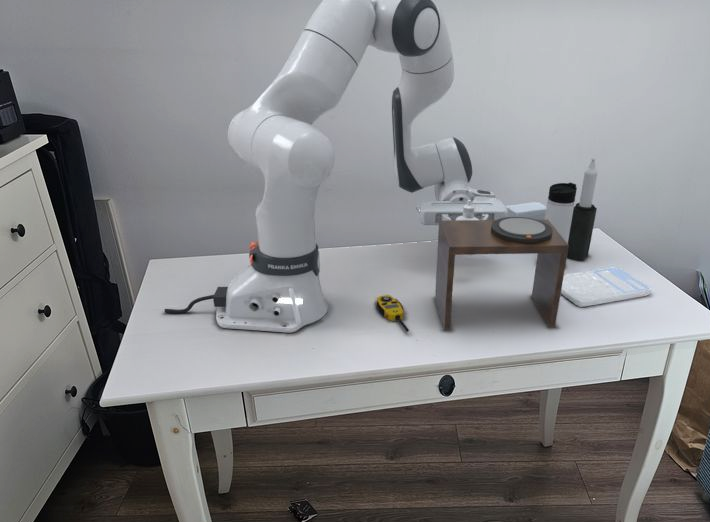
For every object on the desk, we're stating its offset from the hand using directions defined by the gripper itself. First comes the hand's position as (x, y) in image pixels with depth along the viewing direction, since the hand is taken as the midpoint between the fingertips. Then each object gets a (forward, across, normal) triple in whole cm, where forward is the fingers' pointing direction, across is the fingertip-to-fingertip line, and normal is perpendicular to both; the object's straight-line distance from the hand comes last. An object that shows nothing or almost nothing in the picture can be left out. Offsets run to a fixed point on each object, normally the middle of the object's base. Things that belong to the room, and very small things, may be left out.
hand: (468, 225), depth 136 cm
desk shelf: (+15, +4, +14) cm, 21 cm away
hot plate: (+15, +8, -4) cm, 17 cm away
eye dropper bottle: (-1, 0, +7) cm, 7 cm away
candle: (-14, +32, +14) cm, 37 cm away
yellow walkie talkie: (+16, -17, +14) cm, 27 cm away
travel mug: (-9, +24, +14) cm, 29 cm away
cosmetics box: (-22, +20, +14) cm, 33 cm away
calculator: (+5, +31, +14) cm, 34 cm away
